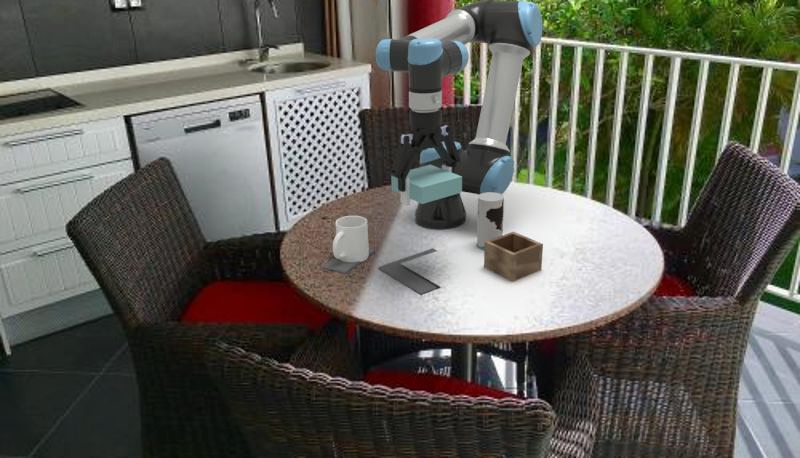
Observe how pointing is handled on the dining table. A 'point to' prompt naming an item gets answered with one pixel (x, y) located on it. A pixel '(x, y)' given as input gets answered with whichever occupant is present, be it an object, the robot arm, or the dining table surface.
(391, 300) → the dining table surface
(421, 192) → the lid
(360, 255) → the mug
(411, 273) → the mat
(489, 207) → the printed grey cylinder
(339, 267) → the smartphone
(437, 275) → the dining table surface
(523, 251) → the box
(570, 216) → the dining table surface
